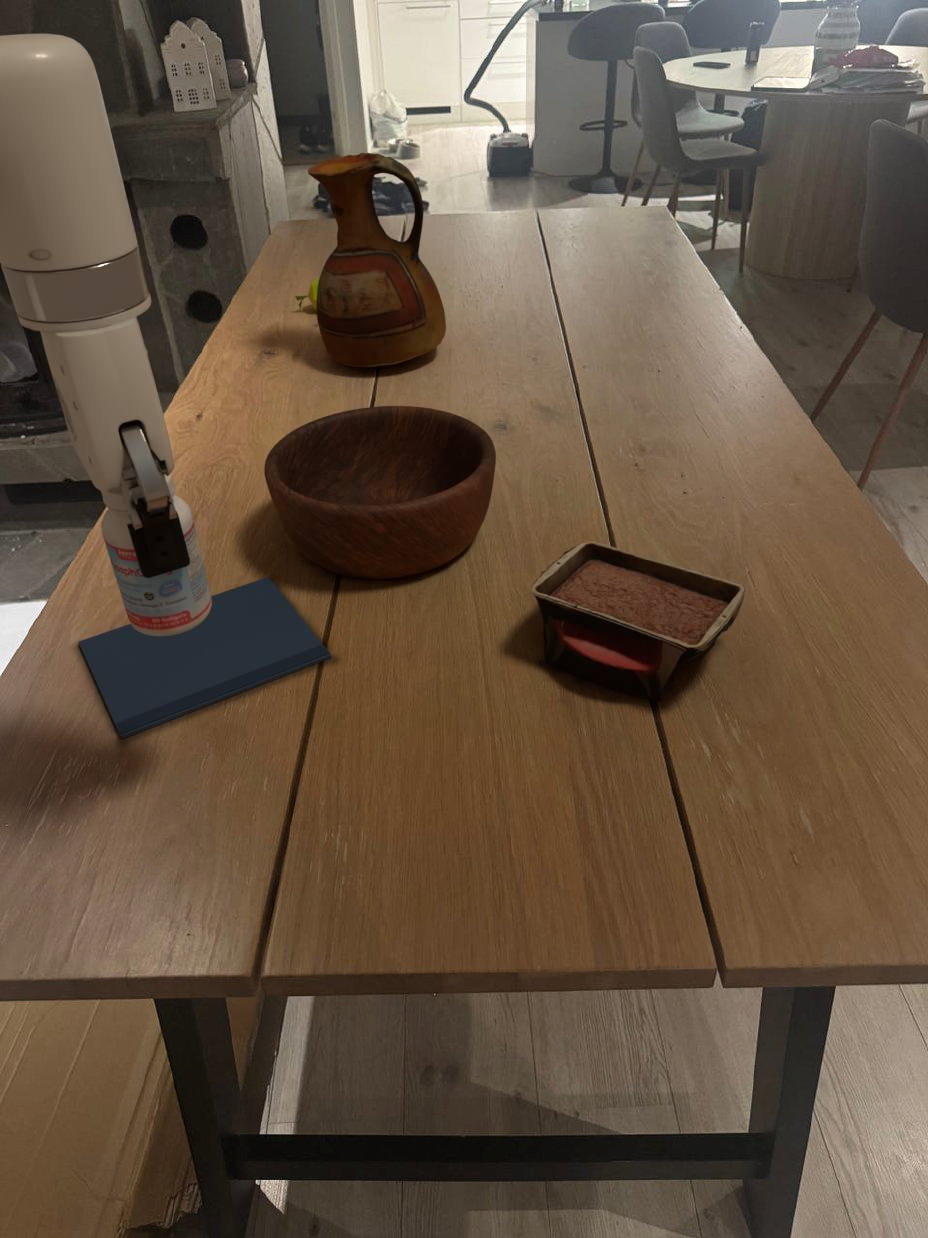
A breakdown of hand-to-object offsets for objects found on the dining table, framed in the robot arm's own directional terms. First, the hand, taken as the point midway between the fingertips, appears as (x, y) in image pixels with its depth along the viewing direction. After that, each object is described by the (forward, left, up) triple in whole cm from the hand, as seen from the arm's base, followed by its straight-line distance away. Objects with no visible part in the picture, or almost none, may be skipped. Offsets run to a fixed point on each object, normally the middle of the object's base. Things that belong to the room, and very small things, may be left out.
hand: (152, 545), depth 65 cm
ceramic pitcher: (+54, +73, -22) cm, 94 cm away
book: (+4, +15, -22) cm, 27 cm away
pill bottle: (0, 0, -6) cm, 6 cm away
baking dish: (+38, -8, -22) cm, 45 cm away
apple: (+55, +100, -22) cm, 117 cm away
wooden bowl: (+29, +24, -22) cm, 44 cm away
